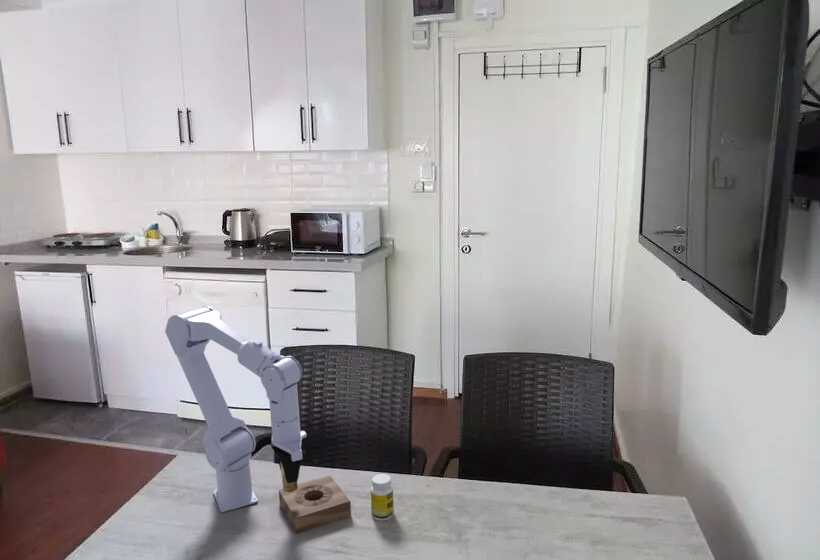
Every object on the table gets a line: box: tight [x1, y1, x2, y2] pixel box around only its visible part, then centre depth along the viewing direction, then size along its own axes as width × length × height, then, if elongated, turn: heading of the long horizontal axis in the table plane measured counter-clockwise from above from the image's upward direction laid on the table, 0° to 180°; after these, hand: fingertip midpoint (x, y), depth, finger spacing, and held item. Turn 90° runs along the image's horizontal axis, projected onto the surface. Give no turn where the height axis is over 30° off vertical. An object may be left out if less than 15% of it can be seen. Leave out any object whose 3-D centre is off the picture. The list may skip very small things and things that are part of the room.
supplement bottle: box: [370, 473, 394, 522], centre depth 127 cm, size 5×5×8 cm
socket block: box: [278, 475, 352, 534], centre depth 130 cm, size 12×12×4 cm
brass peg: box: [280, 461, 298, 492], centre depth 125 cm, size 3×3×8 cm
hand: (289, 477), depth 125 cm, fingers closed on brass peg, 3 cm apart
